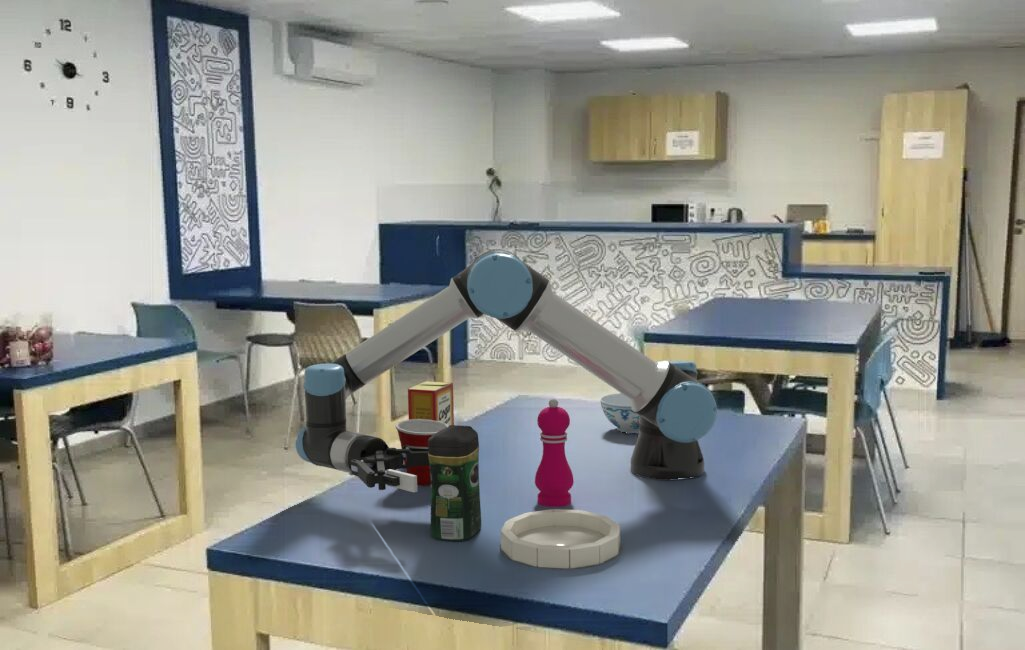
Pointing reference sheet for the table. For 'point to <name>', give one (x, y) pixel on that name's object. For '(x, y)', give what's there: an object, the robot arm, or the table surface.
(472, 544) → the table surface
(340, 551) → the table surface
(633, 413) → the chinaware
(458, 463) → the coffee jar
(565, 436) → the pepper mill
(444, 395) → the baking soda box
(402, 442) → the plastic cup
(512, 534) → the bowl
